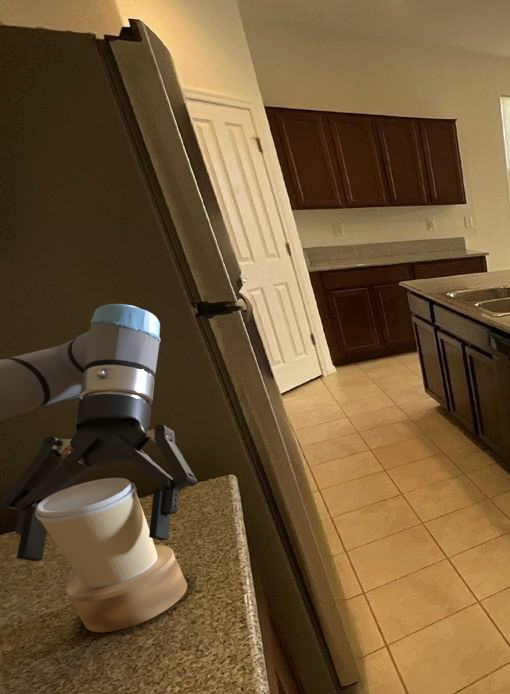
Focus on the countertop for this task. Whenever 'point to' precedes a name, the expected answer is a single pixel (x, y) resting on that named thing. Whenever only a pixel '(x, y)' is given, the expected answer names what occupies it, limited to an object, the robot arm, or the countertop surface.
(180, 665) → the countertop surface
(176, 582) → the stand
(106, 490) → the coffee cup
